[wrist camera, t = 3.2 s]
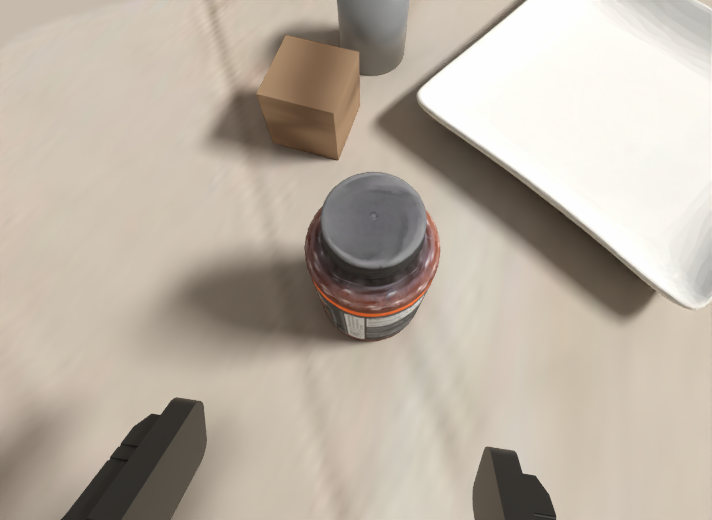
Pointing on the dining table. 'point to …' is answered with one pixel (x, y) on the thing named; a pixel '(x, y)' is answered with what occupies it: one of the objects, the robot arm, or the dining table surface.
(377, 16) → the grey cylinder
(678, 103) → the salad plate
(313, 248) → the supplement bottle
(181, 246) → the dining table surface
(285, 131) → the walnut cube
